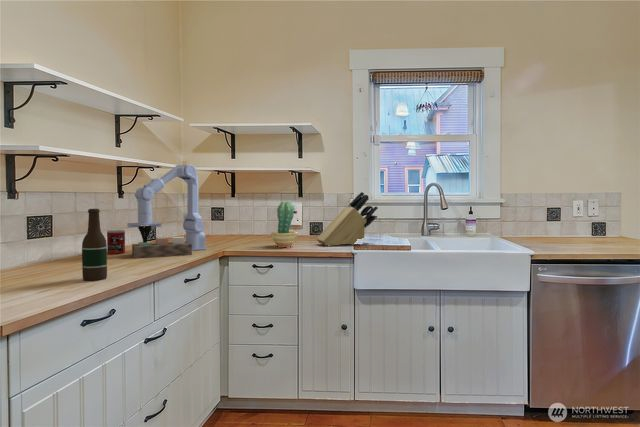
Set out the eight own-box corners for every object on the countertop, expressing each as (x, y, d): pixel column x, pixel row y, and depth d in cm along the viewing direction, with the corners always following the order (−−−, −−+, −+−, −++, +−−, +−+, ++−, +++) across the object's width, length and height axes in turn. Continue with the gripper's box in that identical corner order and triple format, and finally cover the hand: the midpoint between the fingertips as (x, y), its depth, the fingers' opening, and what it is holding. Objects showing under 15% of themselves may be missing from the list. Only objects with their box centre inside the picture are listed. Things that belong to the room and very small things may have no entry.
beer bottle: (112, 276, 145) (110, 208, 144) (101, 281, 138) (99, 209, 136) (89, 276, 145) (88, 208, 144) (77, 281, 137) (75, 209, 136)
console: (186, 251, 208) (186, 241, 208) (191, 254, 197) (191, 243, 197) (132, 254, 197) (132, 243, 196) (134, 258, 185) (134, 246, 185)
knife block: (378, 244, 243) (379, 191, 242) (323, 246, 230) (323, 191, 229) (369, 242, 254) (370, 191, 252) (315, 244, 241) (316, 191, 239)
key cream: (182, 244, 204) (182, 236, 203) (184, 245, 199) (184, 237, 199) (172, 245, 201) (172, 236, 201) (173, 246, 197) (173, 237, 197)
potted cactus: (302, 247, 226) (302, 201, 224) (276, 249, 219) (276, 201, 217) (291, 244, 239) (291, 201, 238) (266, 245, 232) (266, 201, 231)
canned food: (105, 254, 195) (105, 231, 195) (109, 252, 203) (109, 230, 202) (123, 254, 197) (123, 231, 197) (126, 251, 205) (126, 229, 204)
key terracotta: (166, 245, 200) (166, 237, 200) (168, 246, 196) (168, 238, 195) (155, 245, 198) (155, 237, 197) (157, 247, 193) (157, 238, 193)
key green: (150, 249, 197) (150, 241, 196) (151, 251, 192) (151, 242, 192) (138, 250, 194) (138, 242, 194) (139, 251, 190) (139, 243, 190)
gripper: (127, 214, 185) (128, 244, 186) (162, 213, 192) (162, 242, 193) (126, 213, 191) (127, 242, 192) (160, 212, 198) (160, 241, 199)
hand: (144, 242), depth 193 cm, fingers closed, pressing on key green
